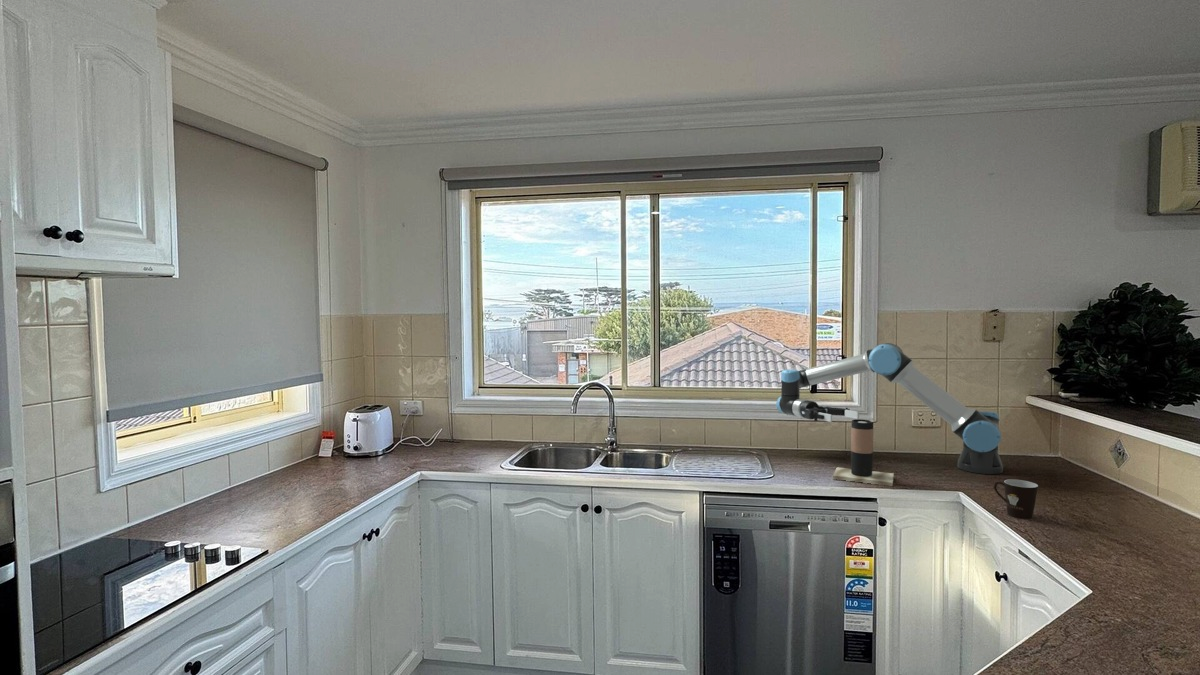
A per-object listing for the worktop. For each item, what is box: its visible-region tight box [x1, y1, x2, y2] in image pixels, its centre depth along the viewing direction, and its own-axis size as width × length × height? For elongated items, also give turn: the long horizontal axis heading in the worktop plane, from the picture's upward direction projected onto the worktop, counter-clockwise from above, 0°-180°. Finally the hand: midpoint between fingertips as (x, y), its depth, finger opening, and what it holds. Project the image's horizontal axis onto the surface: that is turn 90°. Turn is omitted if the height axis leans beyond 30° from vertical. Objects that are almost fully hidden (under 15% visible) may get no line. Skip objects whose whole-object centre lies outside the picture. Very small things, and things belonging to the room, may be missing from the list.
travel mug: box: [850, 418, 874, 477], centre depth 229 cm, size 8×8×20 cm
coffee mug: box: [993, 479, 1039, 520], centre depth 189 cm, size 12×9×10 cm
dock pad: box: [832, 467, 894, 487], centre depth 229 cm, size 20×13×2 cm, turn 63°
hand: (845, 416), depth 236 cm, fingers open, 13 cm apart
